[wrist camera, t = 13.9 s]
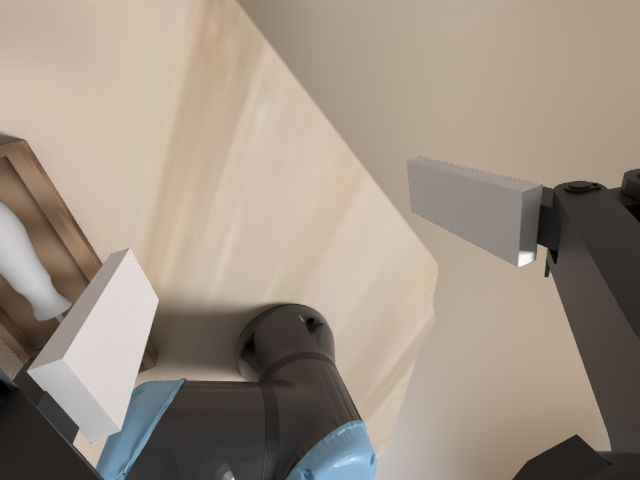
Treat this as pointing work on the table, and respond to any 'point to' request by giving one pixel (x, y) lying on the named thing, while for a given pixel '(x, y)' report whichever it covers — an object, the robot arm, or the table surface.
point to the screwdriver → (27, 269)
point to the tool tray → (44, 250)
